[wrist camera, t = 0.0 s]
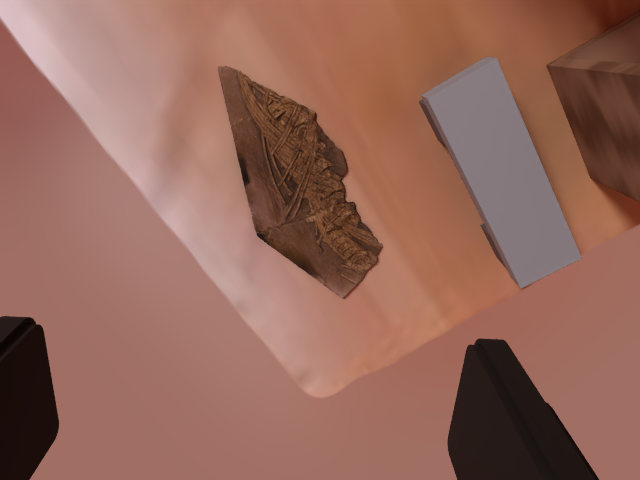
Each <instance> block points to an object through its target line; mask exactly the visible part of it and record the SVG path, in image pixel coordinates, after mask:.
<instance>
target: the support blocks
mask: <svg viewBox="0 0 640 480" xmlns="http://www.w3.org/2000/svg"><path fill="white" fill-rule="evenodd" d="M419 103H420V105H421V107H422V109H423V111H424V113H425V115H426V117H427V119H428V121H429V123H430V125H431V127H432V129H433V131H434V133H435V135H436V137H437V139H438V140H439V141H440V142H442V143H443V144H444V145H445V143H444V141H443V139H442V137H441V135H440V133H439V131H438V129H437V127H436V125H435V123H434V121H433V119H432V117H431V115H430V113H429V111H428V109H427V107H426V105H425V103H424V101H423V100H421V101H419ZM445 146H446V145H445ZM481 227H482V229H483V231H484V233H485V235H486V237H487V239H488V241H489V243H490V245H491V247H492V249H493V251H494V253H495V255H496V257H497V258H498V259H499V260H500V262H501V263H502V264H503V265H504V266H505V264H504V262H503V260H502V258H501V256H500V254H499V252H498V250H497V248H496V246H495V244H494V242H493V240H492V238H491V236H490V234H489V232H488V230H487V228H486V226H485V224H482V225H481ZM505 267H506V266H505ZM506 269H507V268H506Z"/></svg>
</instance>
